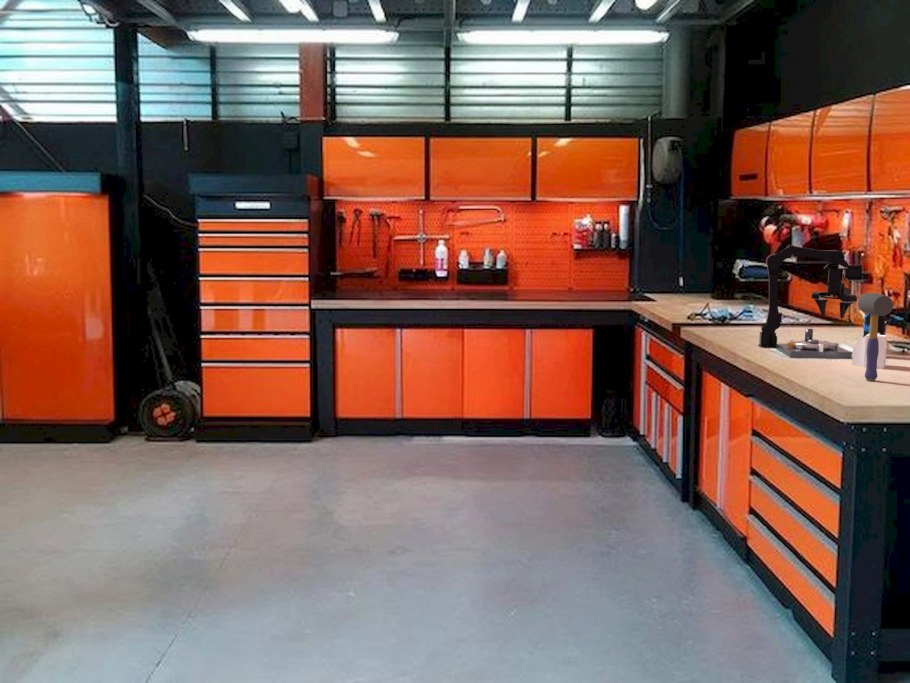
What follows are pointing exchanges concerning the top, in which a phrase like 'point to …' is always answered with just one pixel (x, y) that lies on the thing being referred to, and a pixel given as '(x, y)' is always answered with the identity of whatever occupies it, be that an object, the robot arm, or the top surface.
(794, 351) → the index base
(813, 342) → the sprocket
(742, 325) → the top surface
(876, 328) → the rubber mallet
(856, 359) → the corner bracket
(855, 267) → the robot arm
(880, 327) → the aerosol can
